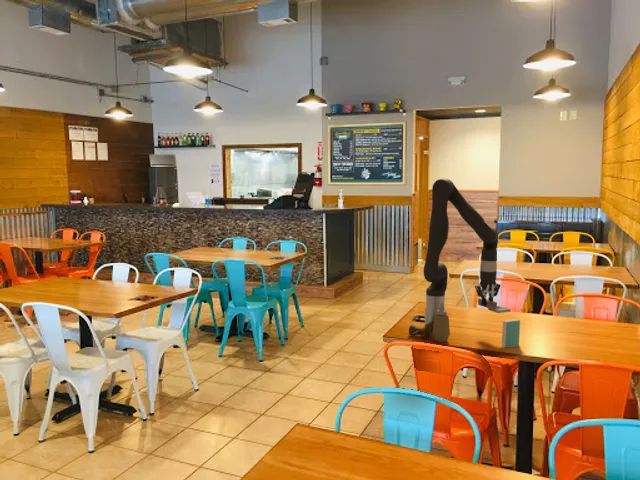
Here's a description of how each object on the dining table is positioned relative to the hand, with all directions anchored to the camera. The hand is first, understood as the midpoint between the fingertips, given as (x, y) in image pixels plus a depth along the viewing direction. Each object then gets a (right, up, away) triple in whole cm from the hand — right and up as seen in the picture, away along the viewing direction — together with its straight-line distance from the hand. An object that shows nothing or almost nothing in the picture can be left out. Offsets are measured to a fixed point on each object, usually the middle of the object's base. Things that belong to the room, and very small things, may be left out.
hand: (487, 305), depth 258 cm
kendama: (-30, -15, +2) cm, 34 cm away
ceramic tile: (+6, -17, -14) cm, 23 cm away
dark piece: (+1, -1, -3) cm, 4 cm away
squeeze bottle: (-24, -16, -6) cm, 29 cm away
